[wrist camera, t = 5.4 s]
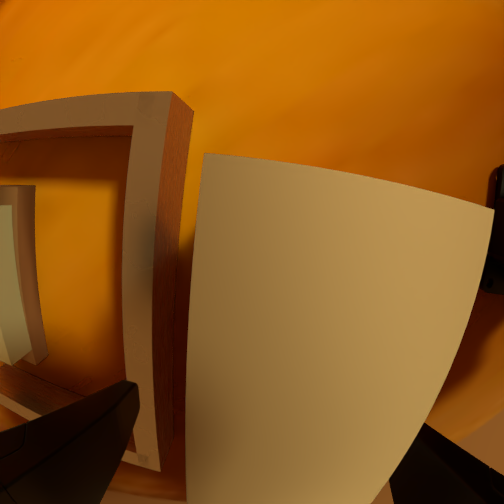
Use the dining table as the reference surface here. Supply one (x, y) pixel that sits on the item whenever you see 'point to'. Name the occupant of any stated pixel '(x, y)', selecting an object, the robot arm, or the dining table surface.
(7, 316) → the offcut top
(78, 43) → the dining table surface
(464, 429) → the dining table surface
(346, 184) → the sheet
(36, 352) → the offcut low
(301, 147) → the dining table surface
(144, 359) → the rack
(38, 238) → the dining table surface
